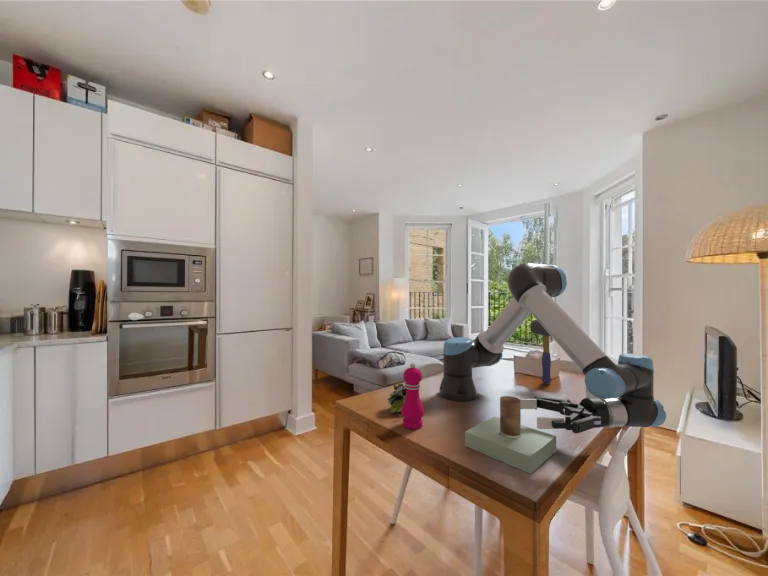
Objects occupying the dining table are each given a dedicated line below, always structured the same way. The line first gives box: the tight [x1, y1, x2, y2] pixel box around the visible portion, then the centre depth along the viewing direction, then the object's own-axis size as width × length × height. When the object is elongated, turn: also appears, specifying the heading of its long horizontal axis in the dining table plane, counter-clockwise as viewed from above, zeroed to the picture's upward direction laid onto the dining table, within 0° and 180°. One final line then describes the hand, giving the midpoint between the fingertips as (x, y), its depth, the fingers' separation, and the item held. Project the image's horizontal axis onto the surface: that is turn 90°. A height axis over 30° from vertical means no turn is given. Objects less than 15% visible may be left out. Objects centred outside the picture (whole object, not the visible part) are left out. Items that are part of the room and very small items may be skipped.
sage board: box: [464, 416, 557, 475], centre depth 86 cm, size 18×16×4 cm
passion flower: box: [386, 383, 406, 415], centre depth 114 cm, size 11×11×12 cm
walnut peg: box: [499, 395, 522, 439], centre depth 86 cm, size 5×5×13 cm
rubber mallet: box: [529, 319, 552, 385], centre depth 148 cm, size 12×8×30 cm, turn 33°
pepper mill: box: [400, 362, 425, 430], centre depth 101 cm, size 7×7×20 cm
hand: (524, 412), depth 86 cm, fingers open, 13 cm apart
